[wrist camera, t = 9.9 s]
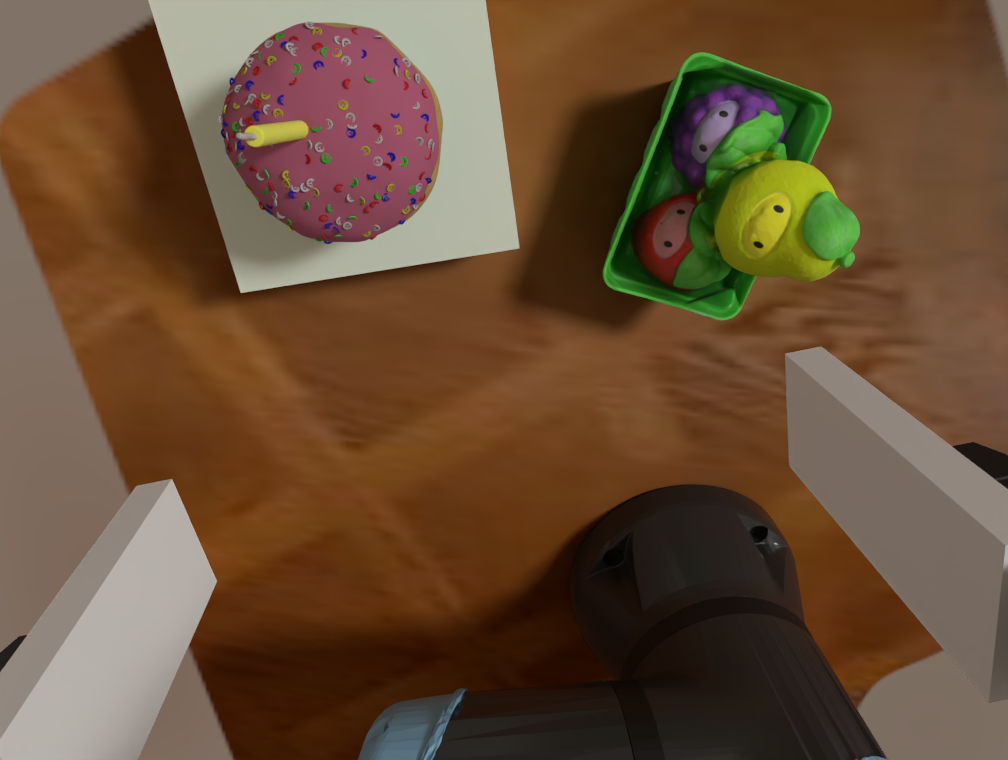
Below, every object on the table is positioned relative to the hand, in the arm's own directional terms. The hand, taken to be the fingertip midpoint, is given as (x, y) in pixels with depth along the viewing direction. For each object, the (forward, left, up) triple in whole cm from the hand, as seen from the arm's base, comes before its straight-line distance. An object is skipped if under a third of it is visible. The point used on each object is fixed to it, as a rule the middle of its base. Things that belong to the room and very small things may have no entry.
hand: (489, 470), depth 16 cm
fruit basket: (-1, -12, -27) cm, 29 cm away
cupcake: (+5, +4, -23) cm, 24 cm away
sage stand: (+5, +5, -26) cm, 27 cm away
